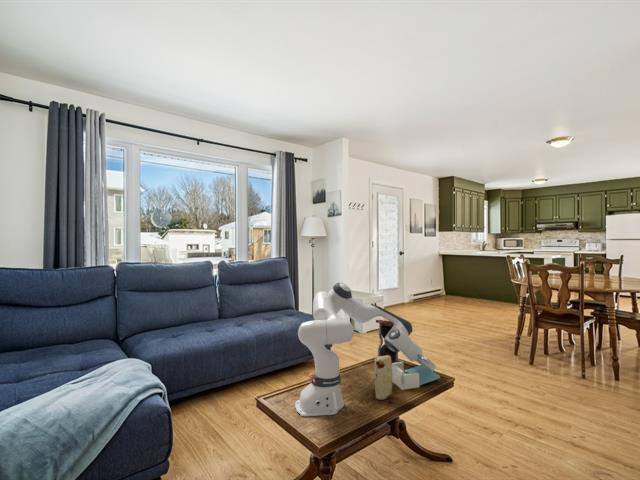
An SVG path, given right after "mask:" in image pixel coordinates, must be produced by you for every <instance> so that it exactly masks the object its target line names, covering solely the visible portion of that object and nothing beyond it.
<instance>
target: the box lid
mask: <svg viewBox="0 0 640 480" xmlns="http://www.w3.org/2000/svg"><path fill="white" fill-rule="evenodd" d="M404 372H405V373H406V374H411V373H417V372H418V373H419V386H422V385H425V384H427V383H430V382H434V381H436V380H439V379H441V376H440V374H438V373H436V372H434V371H433V372H432V371H430V370H429V369H427V368H426V367H424V366H423V365H421V364H419V365H416V366H414V367H410V368H409V369H408V368H407V369H404Z"/></svg>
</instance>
